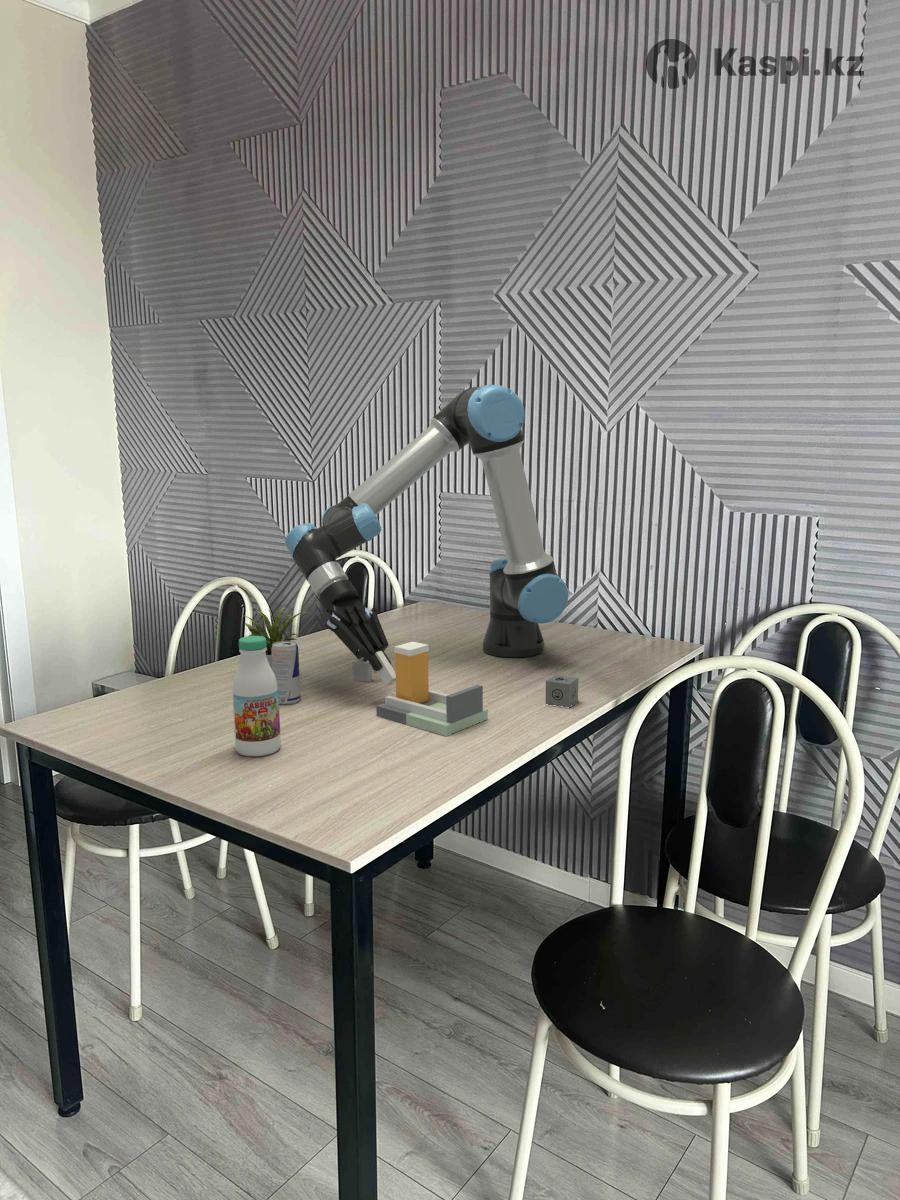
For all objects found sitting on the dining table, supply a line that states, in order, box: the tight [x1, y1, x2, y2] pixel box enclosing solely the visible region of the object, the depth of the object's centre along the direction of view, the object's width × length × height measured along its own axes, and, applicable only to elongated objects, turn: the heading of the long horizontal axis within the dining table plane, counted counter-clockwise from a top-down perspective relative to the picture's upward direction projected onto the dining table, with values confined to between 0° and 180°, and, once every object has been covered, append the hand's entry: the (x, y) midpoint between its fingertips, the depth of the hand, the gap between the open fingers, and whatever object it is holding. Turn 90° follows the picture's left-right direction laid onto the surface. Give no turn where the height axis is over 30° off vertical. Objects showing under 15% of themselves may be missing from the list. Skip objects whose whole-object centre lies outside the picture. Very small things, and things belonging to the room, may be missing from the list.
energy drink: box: [271, 640, 301, 705], centre depth 181 cm, size 5×5×12 cm
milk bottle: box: [232, 635, 282, 757], centre depth 153 cm, size 8×8×20 cm
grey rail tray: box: [375, 684, 489, 737], centre depth 170 cm, size 18×12×7 cm, turn 49°
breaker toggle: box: [393, 641, 430, 704], centre depth 172 cm, size 4×5×11 cm
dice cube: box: [545, 674, 579, 708], centre depth 178 cm, size 5×5×5 cm
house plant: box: [244, 606, 307, 671], centre depth 197 cm, size 14×14×16 cm
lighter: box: [352, 657, 373, 683], centre depth 194 cm, size 7×2×8 cm, turn 63°
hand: (392, 681), depth 176 cm, fingers closed
